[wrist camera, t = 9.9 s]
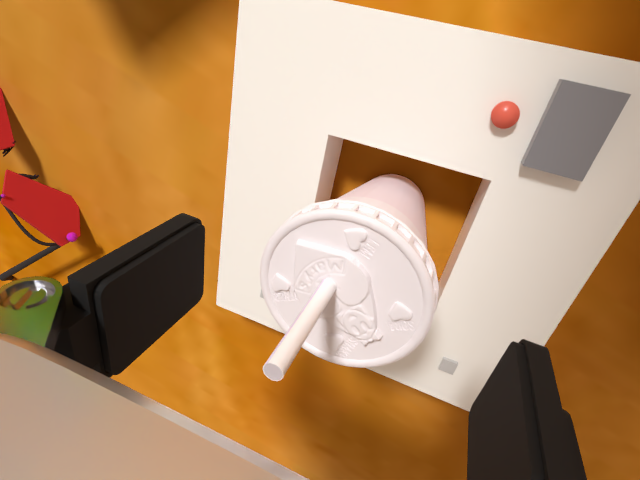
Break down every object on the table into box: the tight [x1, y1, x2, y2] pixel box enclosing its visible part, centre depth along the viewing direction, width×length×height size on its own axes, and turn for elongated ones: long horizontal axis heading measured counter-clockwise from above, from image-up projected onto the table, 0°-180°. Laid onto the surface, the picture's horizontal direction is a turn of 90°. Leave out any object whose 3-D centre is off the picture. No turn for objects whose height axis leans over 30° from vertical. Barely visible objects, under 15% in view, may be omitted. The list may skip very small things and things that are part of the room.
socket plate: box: [216, 0, 640, 412], centre depth 20 cm, size 18×18×4 cm
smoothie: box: [260, 174, 439, 381], centre depth 15 cm, size 6×6×14 cm
